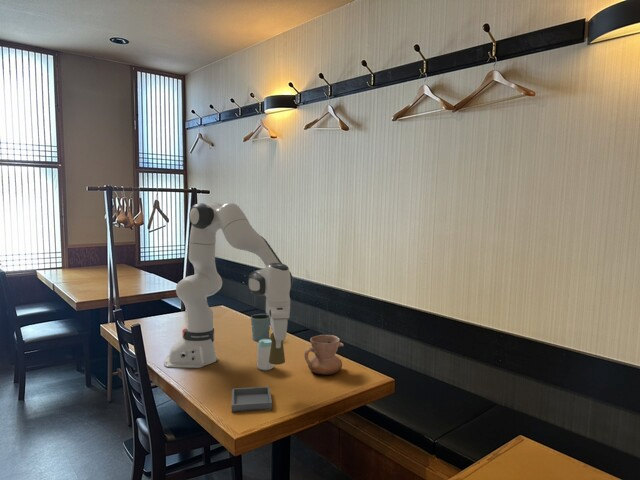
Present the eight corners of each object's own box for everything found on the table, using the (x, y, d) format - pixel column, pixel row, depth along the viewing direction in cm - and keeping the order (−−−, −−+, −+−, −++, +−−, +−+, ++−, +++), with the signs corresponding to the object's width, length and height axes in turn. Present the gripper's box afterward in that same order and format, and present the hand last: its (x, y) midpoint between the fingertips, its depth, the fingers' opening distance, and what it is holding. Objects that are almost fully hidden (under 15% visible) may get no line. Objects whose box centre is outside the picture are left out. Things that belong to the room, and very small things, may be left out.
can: (271, 371, 187) (271, 343, 186) (254, 370, 188) (255, 342, 187) (275, 365, 194) (275, 338, 193) (260, 364, 195) (260, 337, 194)
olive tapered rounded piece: (269, 358, 168) (269, 329, 167) (285, 358, 168) (286, 330, 167) (267, 364, 162) (268, 334, 161) (284, 364, 162) (285, 335, 161)
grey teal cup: (274, 337, 233) (274, 315, 232) (263, 343, 225) (263, 319, 224) (258, 334, 238) (258, 312, 237) (246, 339, 229) (246, 317, 228)
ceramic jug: (335, 362, 199) (335, 331, 198) (350, 374, 186) (350, 340, 185) (297, 369, 192) (297, 336, 190) (311, 381, 178) (311, 346, 177)
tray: (231, 412, 151) (231, 405, 150) (232, 395, 164) (232, 388, 164) (271, 409, 153) (272, 402, 153) (269, 392, 166) (269, 386, 166)
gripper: (266, 301, 172) (266, 336, 173) (271, 315, 152) (271, 354, 153) (283, 301, 173) (282, 336, 175) (290, 314, 153) (289, 353, 155)
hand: (277, 344), depth 164 cm, fingers closed on olive tapered rounded piece, 4 cm apart
